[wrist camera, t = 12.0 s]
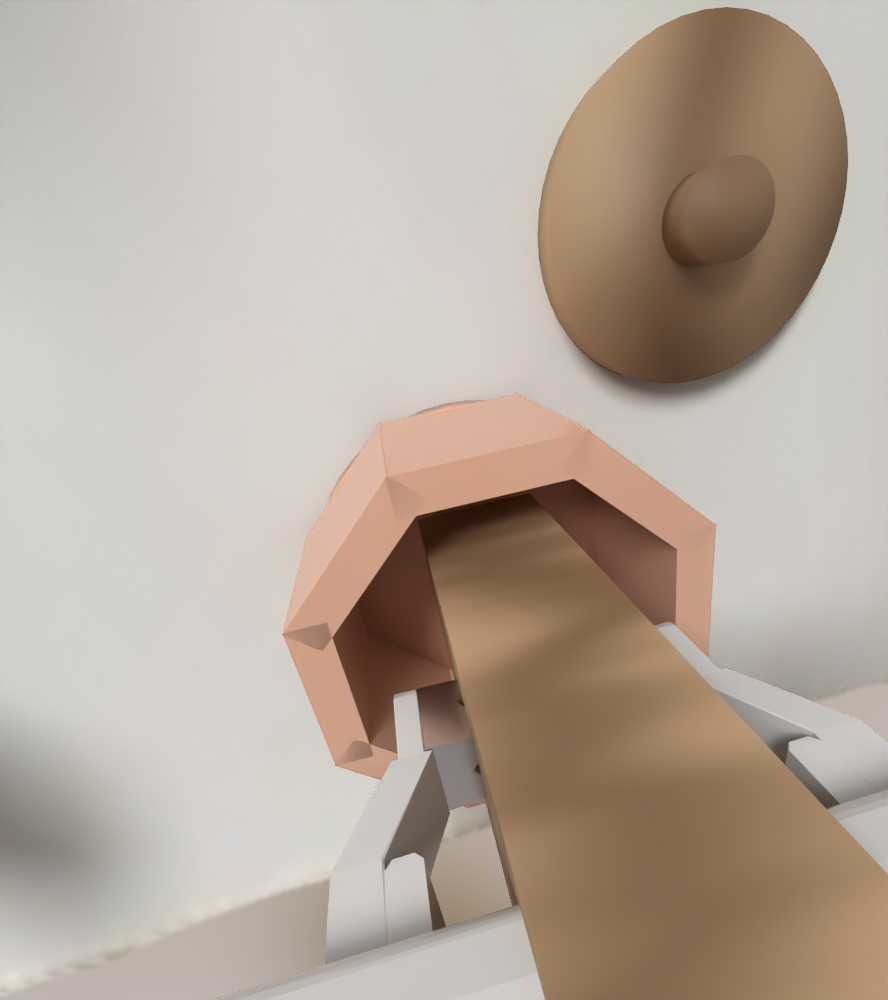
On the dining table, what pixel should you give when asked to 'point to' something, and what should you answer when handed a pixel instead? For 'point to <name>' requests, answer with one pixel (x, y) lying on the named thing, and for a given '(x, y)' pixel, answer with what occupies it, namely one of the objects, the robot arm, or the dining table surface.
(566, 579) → the brown wooden block
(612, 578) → the jar
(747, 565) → the dining table surface
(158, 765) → the dining table surface
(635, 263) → the jar lid
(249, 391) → the dining table surface
